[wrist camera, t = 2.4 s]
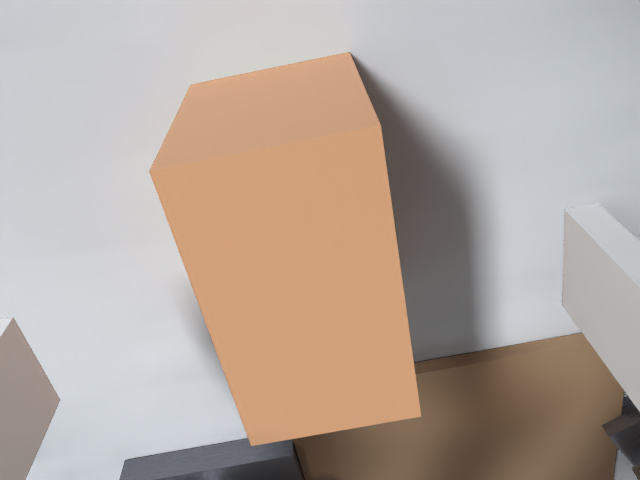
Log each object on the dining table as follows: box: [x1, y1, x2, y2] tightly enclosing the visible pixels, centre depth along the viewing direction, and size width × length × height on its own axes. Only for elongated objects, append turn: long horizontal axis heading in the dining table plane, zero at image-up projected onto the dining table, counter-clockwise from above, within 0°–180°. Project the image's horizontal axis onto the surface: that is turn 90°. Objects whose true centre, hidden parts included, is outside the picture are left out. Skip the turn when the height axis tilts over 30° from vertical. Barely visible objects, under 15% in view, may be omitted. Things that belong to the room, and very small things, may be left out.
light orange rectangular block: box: [149, 52, 421, 446], centre depth 16 cm, size 8×4×6 cm, turn 11°
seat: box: [293, 333, 624, 480], centre depth 24 cm, size 13×10×1 cm
